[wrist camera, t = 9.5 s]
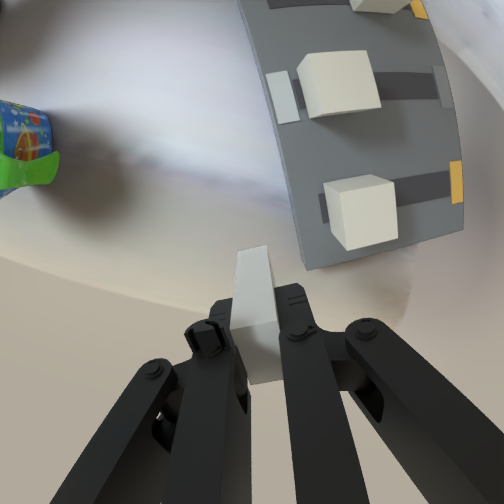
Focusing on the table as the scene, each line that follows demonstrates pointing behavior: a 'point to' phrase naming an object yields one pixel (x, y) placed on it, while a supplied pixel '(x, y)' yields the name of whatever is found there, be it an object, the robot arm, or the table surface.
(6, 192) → the snack cup
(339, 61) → the knob mid
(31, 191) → the table surface
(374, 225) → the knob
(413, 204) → the switch panel
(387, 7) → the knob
